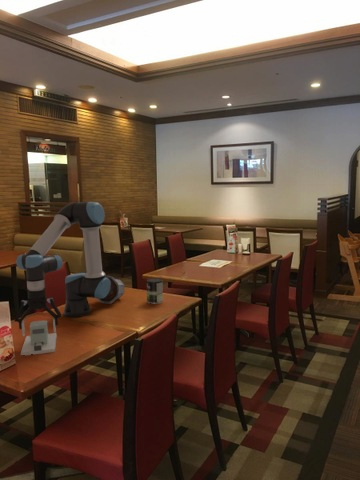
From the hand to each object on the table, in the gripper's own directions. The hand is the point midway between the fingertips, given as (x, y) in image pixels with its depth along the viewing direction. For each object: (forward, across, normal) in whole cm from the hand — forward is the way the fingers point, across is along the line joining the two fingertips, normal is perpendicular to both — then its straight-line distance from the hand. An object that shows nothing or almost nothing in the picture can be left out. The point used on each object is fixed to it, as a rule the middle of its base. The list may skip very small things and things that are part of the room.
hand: (39, 333), depth 179 cm
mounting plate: (+5, 0, 0) cm, 5 cm away
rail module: (+4, 0, 0) cm, 4 cm away
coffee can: (+6, +65, +53) cm, 84 cm away
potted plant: (+6, +34, +58) cm, 68 cm away
